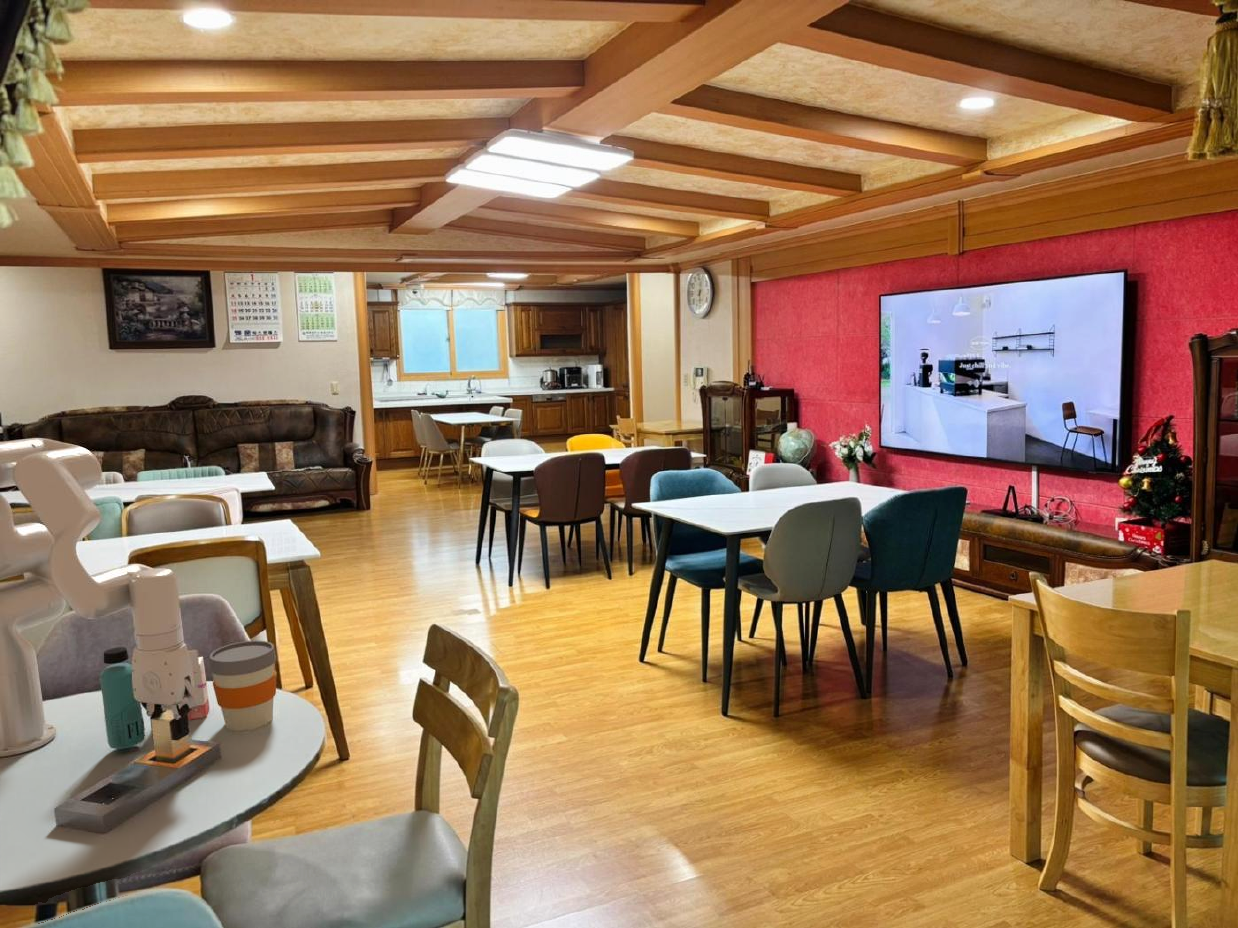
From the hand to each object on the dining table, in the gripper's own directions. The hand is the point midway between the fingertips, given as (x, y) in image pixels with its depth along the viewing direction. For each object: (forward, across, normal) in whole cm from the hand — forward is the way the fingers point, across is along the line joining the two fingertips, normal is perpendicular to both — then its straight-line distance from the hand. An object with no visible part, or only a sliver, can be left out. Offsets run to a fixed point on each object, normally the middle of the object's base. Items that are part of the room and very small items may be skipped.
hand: (171, 734), depth 162 cm
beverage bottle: (+7, -16, +5) cm, 18 cm away
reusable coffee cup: (+7, -1, +21) cm, 22 cm away
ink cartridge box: (+7, -16, +20) cm, 27 cm away
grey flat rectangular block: (+7, 0, -7) cm, 10 cm away
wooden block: (+4, 0, 0) cm, 4 cm away
